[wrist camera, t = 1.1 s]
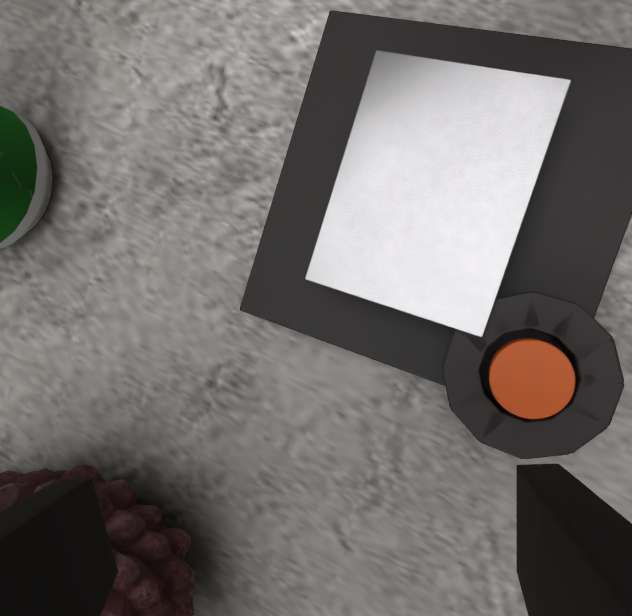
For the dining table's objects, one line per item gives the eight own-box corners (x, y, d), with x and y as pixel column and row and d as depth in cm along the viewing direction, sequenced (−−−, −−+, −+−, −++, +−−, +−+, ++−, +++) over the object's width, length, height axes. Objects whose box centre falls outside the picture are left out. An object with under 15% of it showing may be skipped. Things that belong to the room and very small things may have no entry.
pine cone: (-26, 591, 27) (-239, 557, 20) (98, 436, 31) (-44, 357, 23) (169, 900, 17) (-115, 1070, 10) (320, 618, 21) (197, 583, 13)
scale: (718, 73, 16) (757, 32, 14) (574, 463, 18) (587, 485, 15) (336, 22, 21) (317, -16, 19) (240, 334, 22) (211, 336, 20)
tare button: (578, 352, 16) (587, 355, 14) (553, 421, 16) (559, 432, 14) (502, 328, 17) (503, 328, 15) (479, 394, 17) (478, 401, 15)
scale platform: (570, 83, 16) (572, 79, 15) (482, 337, 16) (482, 337, 16) (377, 53, 18) (376, 49, 18) (306, 280, 19) (304, 279, 18)
